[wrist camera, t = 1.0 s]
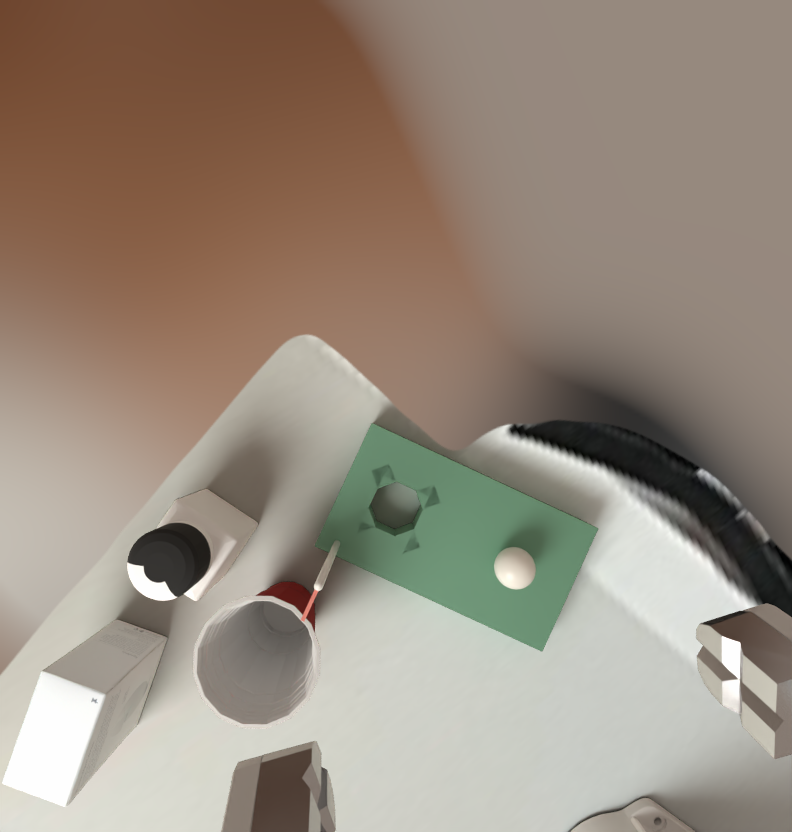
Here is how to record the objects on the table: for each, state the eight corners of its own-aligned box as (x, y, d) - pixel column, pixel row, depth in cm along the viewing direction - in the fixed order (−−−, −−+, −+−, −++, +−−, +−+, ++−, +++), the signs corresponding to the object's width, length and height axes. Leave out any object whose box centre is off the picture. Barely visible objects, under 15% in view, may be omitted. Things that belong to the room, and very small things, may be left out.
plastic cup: (327, 547, 49) (307, 587, 38) (345, 644, 49) (331, 715, 37) (230, 565, 49) (178, 612, 37) (247, 663, 49) (202, 741, 37)
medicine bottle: (206, 486, 49) (146, 507, 37) (260, 522, 49) (218, 555, 37) (169, 541, 49) (98, 580, 37) (223, 577, 49) (170, 627, 37)
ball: (534, 552, 47) (548, 564, 43) (518, 587, 47) (530, 602, 43) (499, 535, 47) (510, 546, 43) (483, 571, 47) (492, 585, 43)
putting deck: (585, 522, 50) (670, 565, 35) (526, 652, 50) (585, 752, 35) (372, 422, 50) (365, 423, 35) (311, 553, 49) (278, 611, 34)
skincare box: (113, 616, 49) (38, 669, 39) (169, 636, 49) (109, 694, 39) (80, 708, 49) (-4, 786, 38) (136, 727, 49) (67, 811, 39)
